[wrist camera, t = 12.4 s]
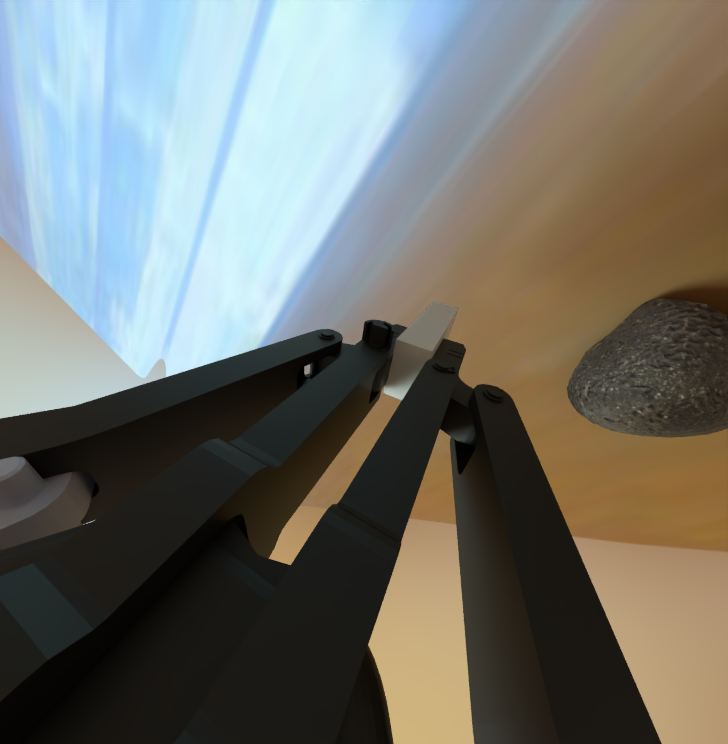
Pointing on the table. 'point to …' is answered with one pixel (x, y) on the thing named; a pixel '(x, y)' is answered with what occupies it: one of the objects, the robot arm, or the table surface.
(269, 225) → the table surface
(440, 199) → the table surface
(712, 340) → the stone
